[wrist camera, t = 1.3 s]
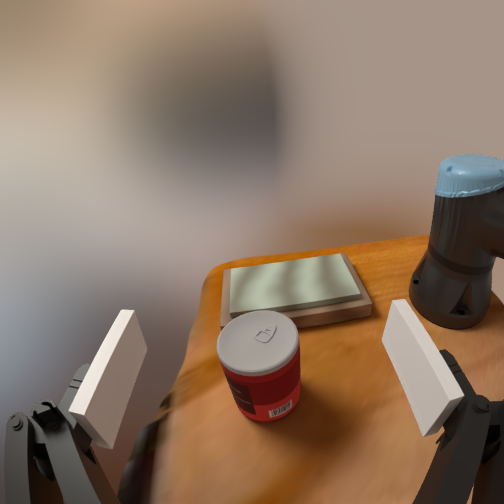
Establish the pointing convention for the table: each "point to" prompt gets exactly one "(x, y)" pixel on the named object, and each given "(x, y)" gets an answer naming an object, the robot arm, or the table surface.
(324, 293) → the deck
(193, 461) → the table surface
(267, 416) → the canned food
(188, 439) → the table surface
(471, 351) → the table surface
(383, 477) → the table surface
